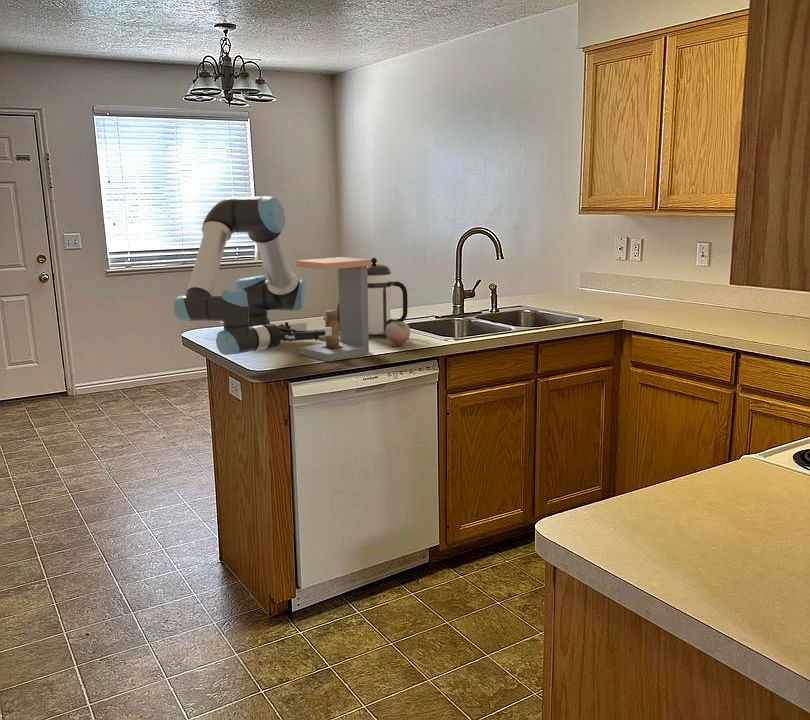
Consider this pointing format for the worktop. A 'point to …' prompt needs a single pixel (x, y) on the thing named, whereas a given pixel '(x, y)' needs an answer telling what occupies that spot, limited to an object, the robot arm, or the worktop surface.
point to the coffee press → (381, 298)
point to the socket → (345, 308)
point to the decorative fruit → (397, 332)
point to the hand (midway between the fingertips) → (318, 328)
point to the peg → (332, 321)
